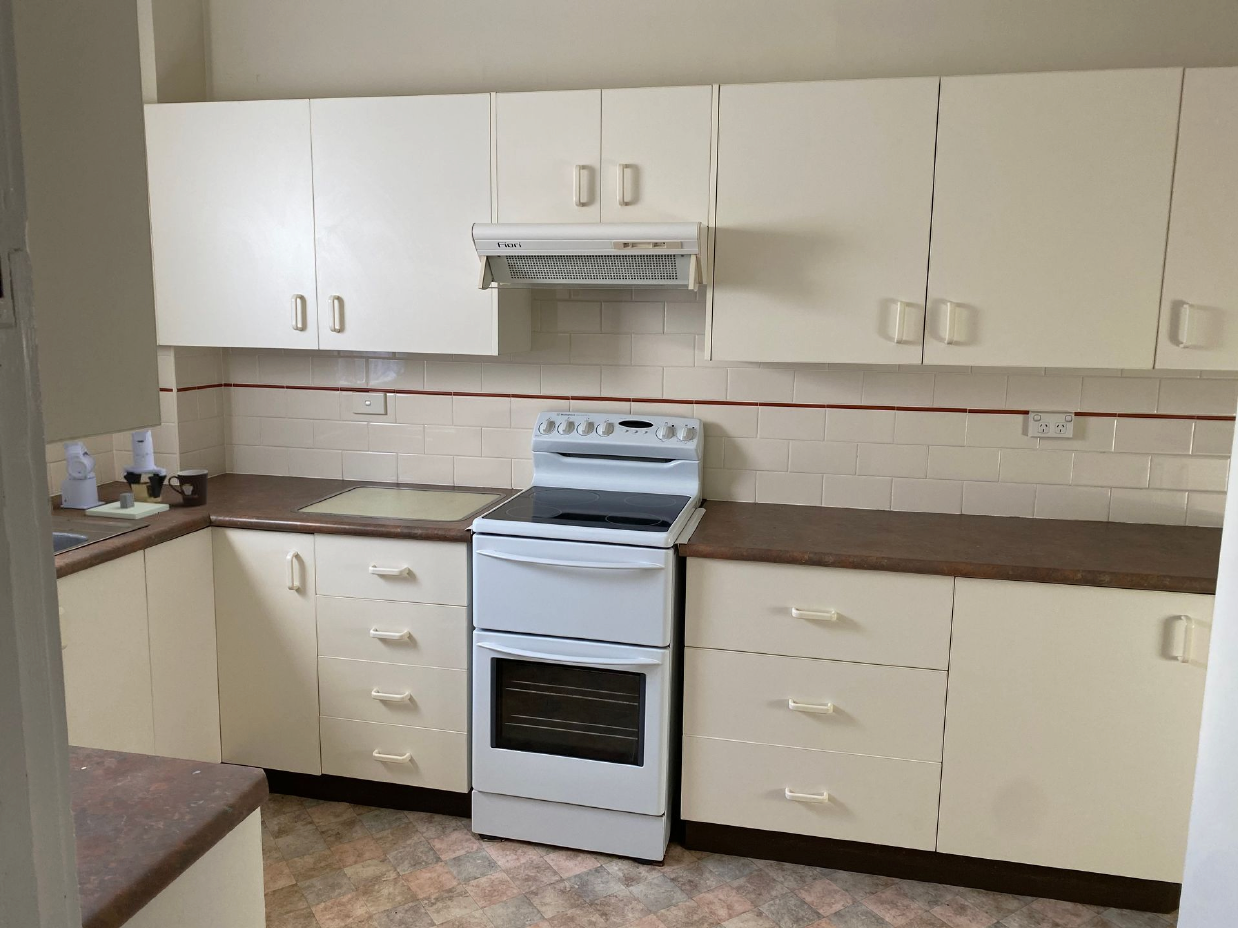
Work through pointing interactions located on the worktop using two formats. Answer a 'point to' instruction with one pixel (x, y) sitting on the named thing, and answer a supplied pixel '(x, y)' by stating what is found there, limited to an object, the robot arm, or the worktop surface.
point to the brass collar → (144, 492)
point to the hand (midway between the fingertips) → (147, 496)
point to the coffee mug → (192, 487)
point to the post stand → (127, 508)
